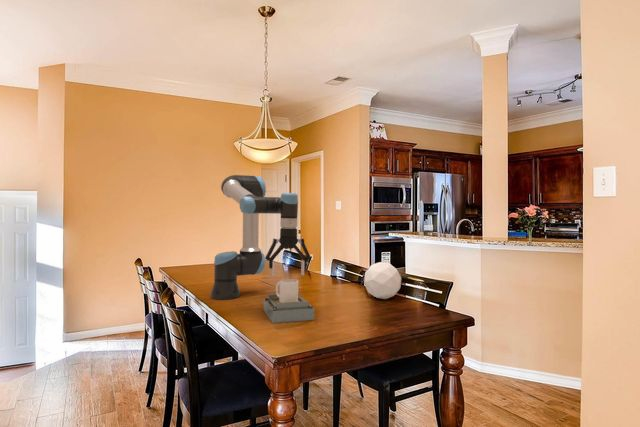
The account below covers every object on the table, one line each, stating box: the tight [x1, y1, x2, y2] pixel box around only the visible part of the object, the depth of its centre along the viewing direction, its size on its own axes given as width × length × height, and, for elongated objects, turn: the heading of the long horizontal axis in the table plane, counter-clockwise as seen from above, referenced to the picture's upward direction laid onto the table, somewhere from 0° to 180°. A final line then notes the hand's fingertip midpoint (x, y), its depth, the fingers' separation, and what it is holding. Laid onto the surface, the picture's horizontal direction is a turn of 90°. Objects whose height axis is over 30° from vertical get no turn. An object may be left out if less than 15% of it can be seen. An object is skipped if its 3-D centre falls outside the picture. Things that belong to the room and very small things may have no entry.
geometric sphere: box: [363, 261, 402, 300], centre depth 210 cm, size 19×20×20 cm
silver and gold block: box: [263, 292, 315, 324], centre depth 175 cm, size 22×18×8 cm
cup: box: [275, 278, 299, 303], centre depth 175 cm, size 8×12×10 cm
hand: (287, 275), depth 175 cm, fingers open, 13 cm apart
